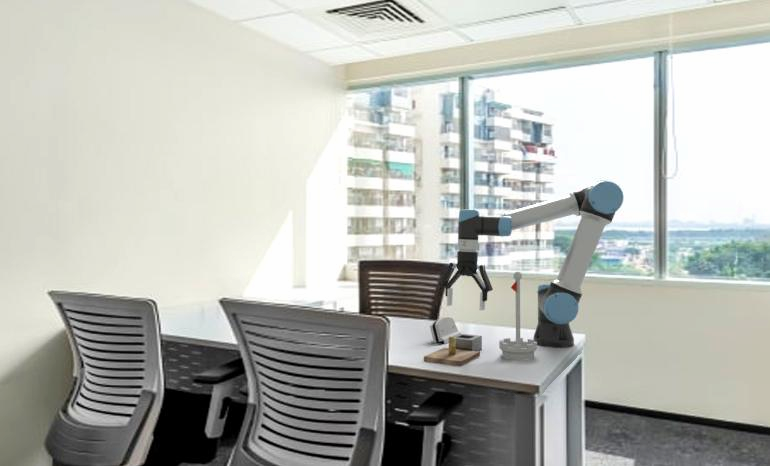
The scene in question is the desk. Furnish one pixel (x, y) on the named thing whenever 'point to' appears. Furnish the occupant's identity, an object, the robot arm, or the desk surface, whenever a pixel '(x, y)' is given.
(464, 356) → the wooden peg stand
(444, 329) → the hinge
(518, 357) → the flag stand
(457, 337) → the grey hollow square block
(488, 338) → the desk surface
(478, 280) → the robot arm
